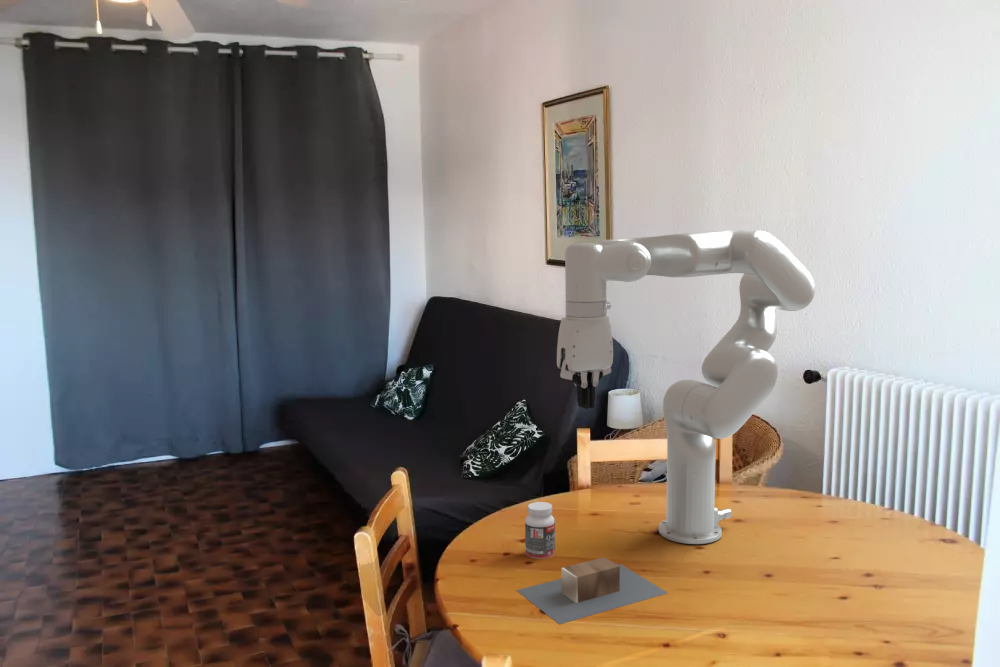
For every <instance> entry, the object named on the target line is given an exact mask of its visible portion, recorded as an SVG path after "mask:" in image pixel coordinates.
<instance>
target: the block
mask: <svg viewBox="0 0 1000 667" xmlns="http://www.w3.org/2000/svg"><path fill="white" fill-rule="evenodd" d="M617 564H618V563H615V562H613V561H612V560H610V559H609V558H606V556H604V557H600V558H597V559H596V558H595V559H592V560H588V561H584V562H579V563H575V564H572V565H568V566H564V567H563V566H562V567H561V569H560V570H561V571H560V572H561V575H560V577H561V578H560V579H561V589H562V593H563V594H564V595H565V596H567V597H568V598H570V599H571V600H572V601H574V602H575V603H578V602H582V601H585V600H589V599H593V598H596V597H600V596H604V595H607V594H611V593H614V592H618V591H620V566H618V565H617Z"/></svg>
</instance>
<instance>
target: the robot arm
mask: <svg viewBox="0 0 1000 667" xmlns="http://www.w3.org/2000/svg"><path fill="white" fill-rule="evenodd" d="M564 254H565V255H564V258H565V259H564V262H565V265H564V266H565V267H564V268H565V270H564V271H565V278H564V279H565V285H564V286H565V317H562V318H561V320H560V325H559V330H558V334H557V335H558V336H557V346H556V366H557V368H558V369H560V373H559V375H560V378H562V379H565V380H569V381H572V383H573V384H574V386H575V387H576V398H577V399H576V401H577V406H578V407H580V408H582V409H586V410H588V409H594V408H595V402H596V387H598V385H599V382H600V380H601V379H602V378H603V377H604V376H606V375H607V376H608V374H609V375H610V374H611V373H612V365H613V363H614V362H613V360H614V345H613V344H614V343H613V342H614V341H613V332H612V327H611V321H610V317H609V316H607V310H610V309H611V307H612V304H611V302H609V301H607V282H608V281H613V282H614V281H615V282H624V283H633V282H636V281H638V280H641V279H642V278H644V277H646V276H655V277H657V276H658V277H664V278H665V277H666V278H694V277H695V278H696V277H702V276H703V277H705V276H713V275H724V274H725V275H726V274H727V275H729V274H743V275H742V276H741V278H740V281H739V285H738V286H739V288H738V290H739V298H740V299H739V301H740V311H739V316H738V318H737V320H736V322H735V323H734V324H733V325H732V327H731V328H730V329H729V330H728V331H727V332H726V334H725V335H724V336H723V337H722V338H721V339H720V340H719V341H718V343H717V344H715V346H714V347H713V348H712V349H711V351H710V352H708V354H707V355H706V357H705V358H704V359H703V362H702V365H701V374H702V376H703V378H704V380H705V381H706V382H707V383H705V382H701V381H698V380H694V379H681V380H678V381H676V382H674V383H672V384H671V385H670V386H669V387H668V389H666V392H665V394H664V397H663V401H662V409H663V410H662V411H663V418H664V423H665V429H666V430H665V431H666V445H667V446H666V449H667V452H666V454H667V455H666V456H667V457H666V514H665V516H666V518H665V519H664V520H662V521H661V522H660V523H659V524H658V532H659V535H661V536H662V537H663V538H665V539H666V540H669V541H671V542H674V543H679V544H686V545H705V544H710V543H713V542H716V541H718V540H720V538H721V537H722V534H723V530H722V527H721V526H720V525H719V523H720V522H721V521H722V520H727V519H730V518H732V516H733V512H732V511H731V510H732V509H730V508H724V509H721V510H719V509H718V507H715V498H716V496H715V494H716V489H715V488H716V450H717V449H716V443H715V439H721V440H722V439H726V438H729V437H731V436H733V435H734V434H735V433H737V432H738V431H739V430H741V428H742V427H743V425H745V424H746V422H747V421H748V420H749V419H750V417H751V416H752V415H754V413H755V412H756V411H757V409H758V408H760V406H761V405H762V404H763V403H764V402H765V401H766V399H767V398H768V396H769V395H771V393H772V392H773V390H774V387H775V386H776V383H777V379H778V371H779V370H778V363H777V361H776V360H775V358H774V357H773V355H771V354H770V353H769V352H768V351H769V350H770V348H771V347H772V346H773V344H774V342H775V340H776V337H777V334H778V333H777V332H778V331H777V330H778V329H777V327H778V326H777V317H776V316H777V315H776V310H780V311H785V312H786V311H788V312H796V311H801V310H803V309H806V308H807V307H808V306H809V305H810V304H811V303H812V301H813V299H814V298H815V293H816V291H815V290H816V286H815V282H814V279H813V277H812V275H811V273H810V272H809V271H808V269H806V267H805V266H804V265H803V264H802V263H801V262H800V261H799V260H798V258H797V257H795V256H794V254H793V253H792V252H791V251H790V250H789V249H788V248H787V247H786V246H785V245H784V244H783V243H782V242H781V241H780V240H779V239H777V238H776V237H775V236H773V235H772V234H771V233H769V232H768V231H767V232H766V231H763V230H746V229H745V230H740V229H739V230H738V229H730V230H718V231H717V230H716V231H704V232H703V231H702V232H688V233H687V232H686V233H685V232H684V233H674V234H666V235H665V234H664V235H657V236H647V237H645V236H644V237H629V238H617V239H616V238H614V239H603V240H600V241H597V242H582V243H581V242H579V243H577V242H576V243H571V244H569V245H568V246H566V250H565V252H564Z"/></svg>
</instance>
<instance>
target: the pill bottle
mask: <svg viewBox="0 0 1000 667" xmlns="http://www.w3.org/2000/svg"><path fill="white" fill-rule="evenodd" d="M527 513H528V515H527V516H526V518H525V520H524V527H525V528H524V531H525V534H524V535H525V537H524V539H525V540H524V541H525V544H524V546H525V547H524V548H525V551H524V552H525V555H526V556H528V557H530V558H533V559H547V558H551V557H553V556H554V555H555V554H556V520H555V518H554V517H553V515H552V513H553V505H552V504H551V503H549V502H545V501H535V502H532V503H529V504H528V505H527Z"/></svg>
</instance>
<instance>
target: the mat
mask: <svg viewBox="0 0 1000 667" xmlns="http://www.w3.org/2000/svg"><path fill="white" fill-rule="evenodd" d="M616 564H617V565H618V566H620V591H618V592H614V593H611V594H607V595H604V596H600V597H596V598H593V599H589V600H585V601H582V602H578V603H575V602H574V601H572V600H571V599H570V598H568V597H567V596H565V595H564V594H563V593H562V589H561V578H558V579H555V580H551V581H548V582H547V581H546V582H544V583H539V584H535V585H532V586H527V587H524V588H520V589H516V590H515V591H516V592H518V593H519V594H520V595H521V596H523V597H524V598H525V599H526V600H528V601H529V602H530V603H532V605H534V606H535V607H536V608H538V609H539V610H541V612H543V613H545V615H547V616H548V617H549V618H551V619H552V620H553V621H554V622H555V623H556V624H558V625H563V624H566V623H569V622H573V621H576V620H580V619H583V618H586V617H591V616H593V615H597V614H600V613H603V612H608V611H610V610H611V611H612V610H614V609H618V608H622V607H625V606H628V605H631V604H635V603H639V602H643V601H646V600H650V599H653V598H656V597H660V596H663V595H667V594H669V592H668V591H666V590H664V589H662V588H661V587H659V586H658V585H656V584H654V583H653V582H651V581H649V580H648V579H646V578H644V577H643V576H642V575H639V574H638V573H636V572H634V571H632V570H631V569H629V568H628V567H627V566H624V565H623V564H621V563H616Z"/></svg>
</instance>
